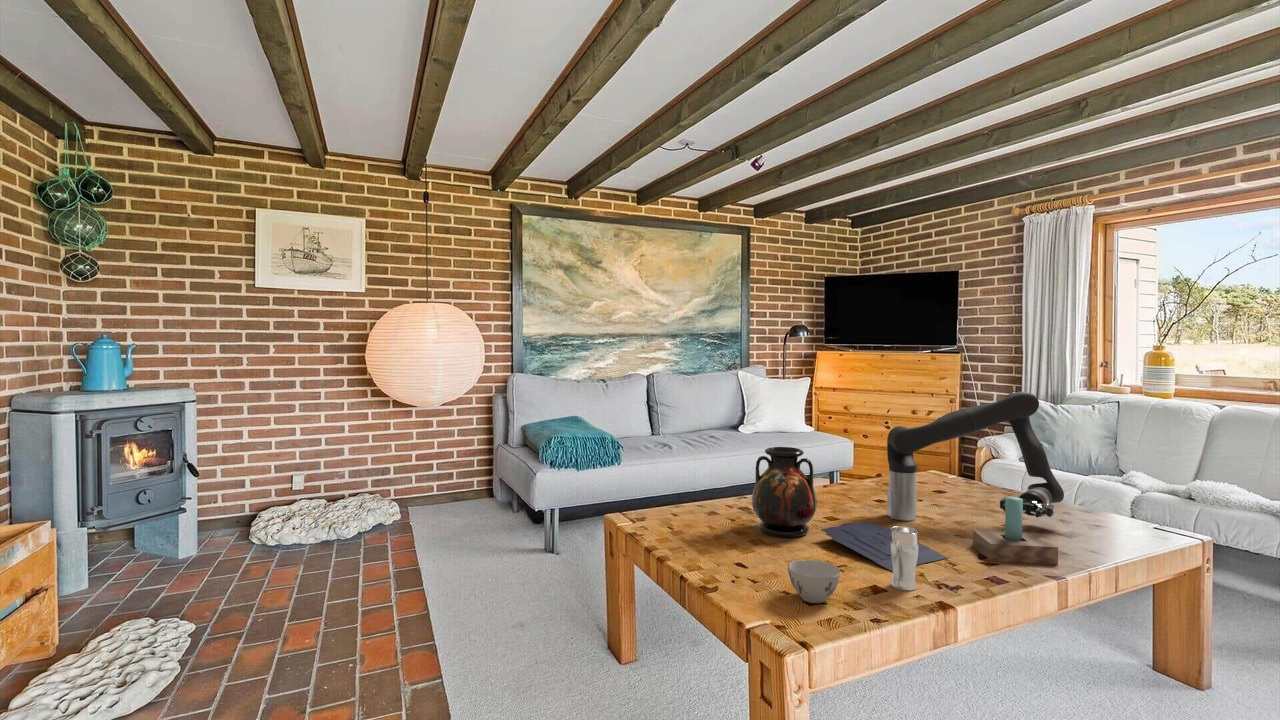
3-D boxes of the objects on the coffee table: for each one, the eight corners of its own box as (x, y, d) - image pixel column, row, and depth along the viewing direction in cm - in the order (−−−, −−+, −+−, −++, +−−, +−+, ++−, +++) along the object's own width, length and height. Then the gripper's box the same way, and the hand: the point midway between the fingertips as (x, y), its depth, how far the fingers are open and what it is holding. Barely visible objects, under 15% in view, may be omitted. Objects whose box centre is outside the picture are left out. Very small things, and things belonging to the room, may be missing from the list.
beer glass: (910, 580, 163) (910, 525, 163) (923, 591, 156) (923, 533, 156) (884, 581, 163) (885, 525, 162) (896, 591, 156) (897, 533, 155)
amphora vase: (747, 538, 199) (748, 453, 199) (755, 520, 220) (755, 443, 219) (816, 544, 193) (816, 456, 192) (817, 525, 214) (817, 446, 213)
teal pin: (1008, 553, 182) (1009, 500, 181) (1002, 548, 186) (1003, 496, 186) (1024, 553, 181) (1025, 500, 181) (1017, 549, 185) (1018, 497, 185)
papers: (868, 527, 207) (869, 517, 206) (948, 566, 181) (949, 554, 180) (814, 538, 196) (815, 527, 195) (891, 581, 169) (892, 568, 169)
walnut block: (990, 560, 178) (990, 543, 178) (972, 545, 192) (972, 529, 192) (1057, 564, 175) (1058, 547, 175) (1034, 548, 189) (1035, 532, 189)
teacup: (851, 602, 150) (851, 570, 149) (815, 614, 143) (815, 580, 143) (805, 582, 162) (805, 552, 162) (770, 591, 156) (770, 561, 156)
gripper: (1009, 486, 205) (995, 495, 194) (1059, 494, 195) (1048, 503, 184) (1009, 508, 205) (995, 518, 194) (1059, 517, 195) (1047, 528, 184)
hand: (1020, 511), depth 189 cm, fingers open, 8 cm apart
